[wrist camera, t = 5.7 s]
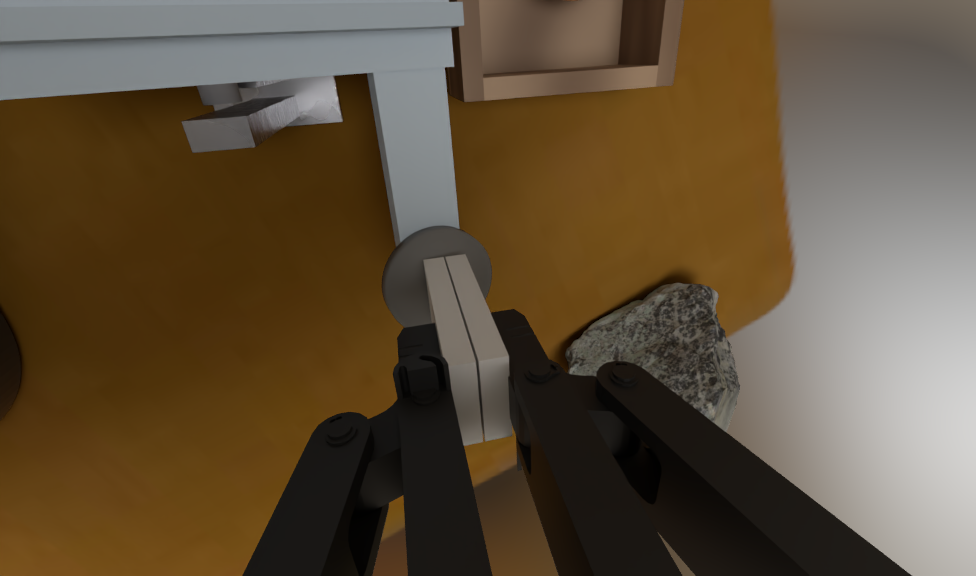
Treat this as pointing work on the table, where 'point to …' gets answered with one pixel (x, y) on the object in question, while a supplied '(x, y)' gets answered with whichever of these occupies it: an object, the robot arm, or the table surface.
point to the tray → (562, 47)
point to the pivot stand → (265, 113)
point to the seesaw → (273, 56)
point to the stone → (668, 347)
